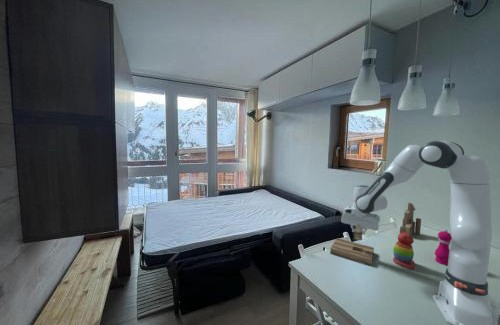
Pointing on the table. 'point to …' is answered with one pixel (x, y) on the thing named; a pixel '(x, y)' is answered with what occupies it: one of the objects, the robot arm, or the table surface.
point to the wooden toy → (410, 222)
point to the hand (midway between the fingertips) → (358, 233)
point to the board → (353, 251)
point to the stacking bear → (404, 251)
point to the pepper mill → (443, 247)
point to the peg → (358, 232)
